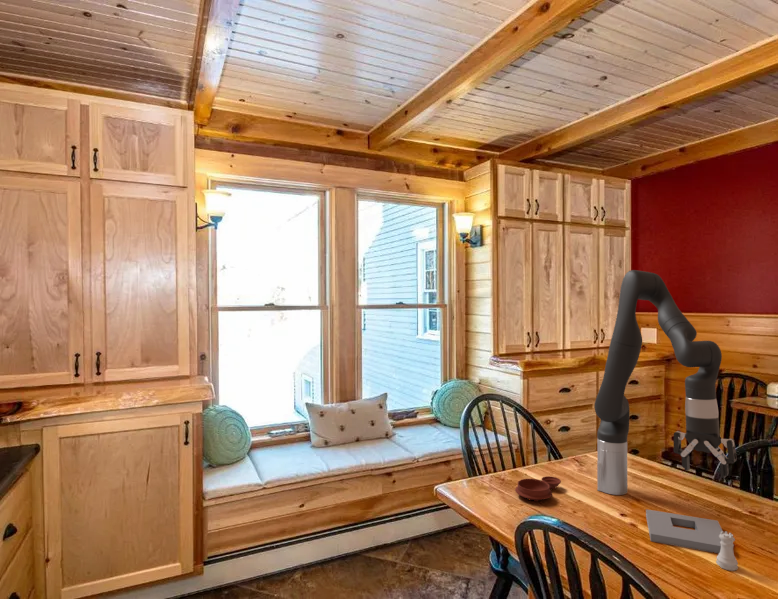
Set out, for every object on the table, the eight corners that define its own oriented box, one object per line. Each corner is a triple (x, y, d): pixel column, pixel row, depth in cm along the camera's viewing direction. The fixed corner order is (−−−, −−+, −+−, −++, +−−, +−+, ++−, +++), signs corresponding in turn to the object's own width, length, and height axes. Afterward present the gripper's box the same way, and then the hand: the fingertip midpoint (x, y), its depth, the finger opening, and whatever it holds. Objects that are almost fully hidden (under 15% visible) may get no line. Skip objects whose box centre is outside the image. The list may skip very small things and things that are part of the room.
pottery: (508, 497, 157) (508, 483, 157) (541, 481, 170) (541, 469, 170) (539, 508, 148) (539, 494, 148) (571, 491, 161) (571, 478, 161)
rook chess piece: (711, 561, 118) (711, 529, 118) (728, 560, 118) (728, 528, 118) (725, 572, 114) (725, 538, 114) (743, 571, 114) (743, 538, 114)
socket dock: (650, 541, 128) (650, 533, 128) (646, 515, 143) (646, 509, 143) (731, 555, 121) (731, 547, 121) (717, 527, 135) (717, 520, 135)
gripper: (668, 413, 132) (671, 471, 132) (729, 420, 122) (732, 483, 122) (677, 408, 137) (680, 464, 137) (736, 415, 127) (740, 475, 127)
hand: (705, 473), depth 129 cm, fingers open, 8 cm apart
